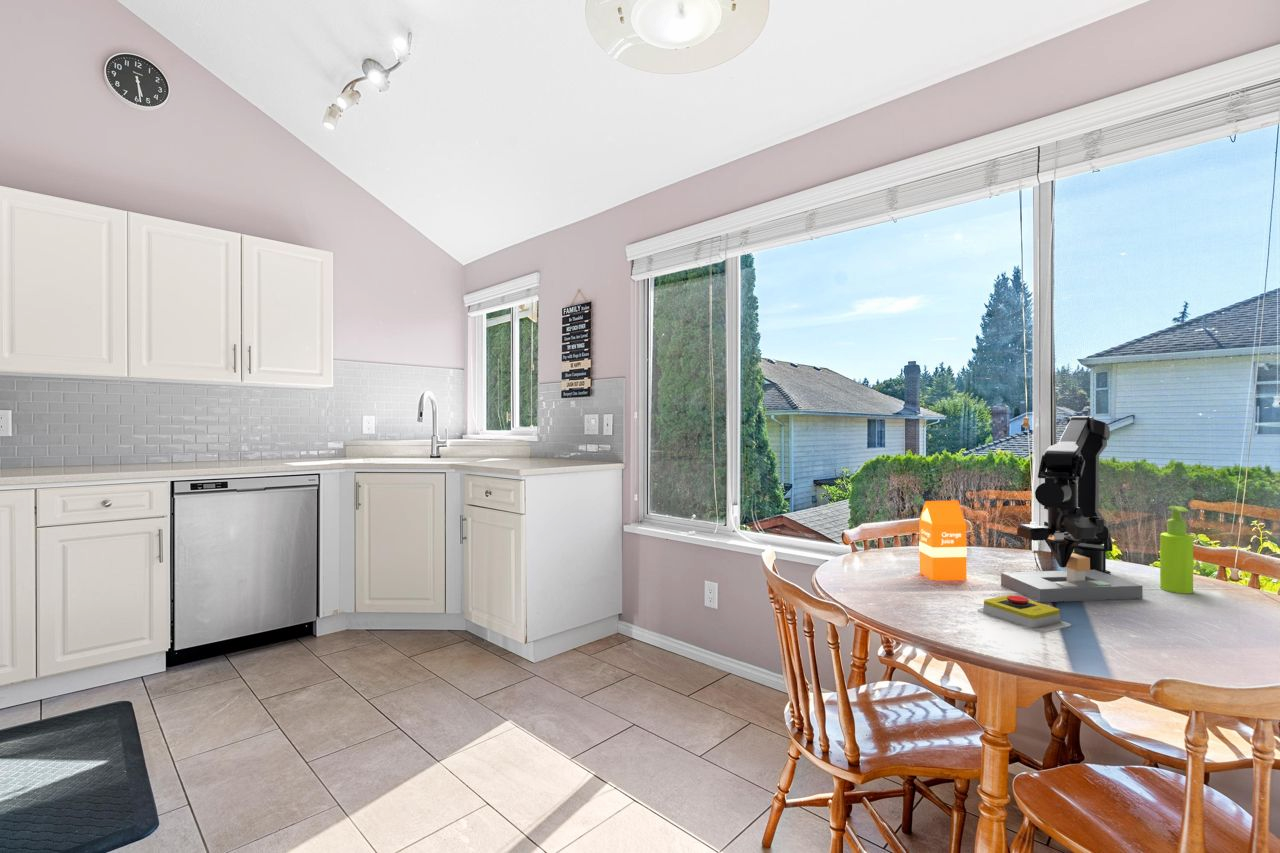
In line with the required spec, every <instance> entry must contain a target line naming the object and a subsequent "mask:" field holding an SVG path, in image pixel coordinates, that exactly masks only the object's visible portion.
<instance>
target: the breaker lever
mask: <svg viewBox="0 0 1280 853" xmlns="http://www.w3.org/2000/svg"><path fill="white" fill-rule="evenodd" d="M1065 568H1066V571H1067V581H1085V571H1090V558H1088V557H1085V556H1081V555H1078V554H1075V553H1074V552H1072V554H1071V556H1070V559H1069V561H1068V563H1067V565H1066V567H1065Z"/></svg>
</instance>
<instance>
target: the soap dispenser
mask: <svg viewBox="0 0 1280 853" xmlns="http://www.w3.org/2000/svg"><path fill="white" fill-rule="evenodd" d="M1168 508H1169V510H1170V509H1171V518H1169V519H1167V521H1166V532H1160V535H1159V536H1160V537H1159V545H1160V546H1159V548H1160V549H1159V550H1160V552H1159V555H1160V556H1159V560H1160V561H1159V562H1160V563H1159V566H1160V567H1159V568H1160V570H1159V578H1160V579H1159V588H1160V589H1161V590H1163V591H1166V592H1170V593H1174V594H1175V593H1176V594H1193V593H1194V536H1193V535H1191V534H1187V520H1185V519H1184V518H1183V519H1182V513H1189V512H1190V511H1189V509H1187V508H1186V507H1184V506H1181V505H1179V506H1178V505H1169V506H1168Z"/></svg>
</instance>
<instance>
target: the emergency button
mask: <svg viewBox="0 0 1280 853" xmlns="http://www.w3.org/2000/svg"><path fill="white" fill-rule="evenodd" d="M976 611H977V612H979V613H982V614H985V615H988V616H991V617H994V618H997V619H1000V620H1003V621H1006V622H1009V623H1012V624H1015V625H1018V626H1022V627H1024V628H1027V629H1031V630H1034V631H1036V632H1040V633H1049V632H1053V631H1057V630H1061V629H1065V628H1069V627H1071V626H1072V624H1071V623H1069V622H1066V621H1063V620H1061V619H1062V618H1061V611H1060V609H1059V608H1057V607H1054V606H1052V605H1047V604H1045V603H1042V602H1038V601H1035V600H1030V599H1029V598H1028V597H1026V596H1020V595H1012V594H1008V595H1006V594H1005V595H1002V596H997V597H996V596H995V597H992V598H987V599H984V600H983V608H978V609H976Z"/></svg>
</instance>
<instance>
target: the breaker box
mask: <svg viewBox="0 0 1280 853" xmlns="http://www.w3.org/2000/svg"><path fill="white" fill-rule="evenodd" d="M1000 584H1001V585H1000V586H1003V587H1005V588H1008V589H1009V590H1012V591H1015V592H1016V593H1019V594H1021V595H1023V596H1024V597H1026V598H1029V597H1030V598H1029V599H1031V600H1033V601H1036V600H1037V601H1036V602H1038V601H1039V602H1038V603H1053V602H1054V603H1055V602H1056V603H1059V601H1060V602H1062V601H1064V602H1085V601H1087V602H1088V601H1089V600H1092V601H1108V600H1107V599H1121V600H1135V599H1134V598H1144V597H1143V595H1144V594H1143V593H1144V592H1143V587H1144V586H1143V585H1142V584H1140V583H1139V584H1138V583H1136V582H1132V581H1129V580H1126V579H1123V578H1121V577H1117V576H1114V575H1111V574H1110V573H1109V574H1106V573H1103V572H1100V571H1097V570H1090V571H1085V581H1067V570H1045V571H1044V570H1043V571H1042V570H1041V571H1019V572H1018V571H1016V572H1015V571H1009V572H1000ZM1105 599H1106V600H1105ZM1089 602H1090V601H1089Z"/></svg>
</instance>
